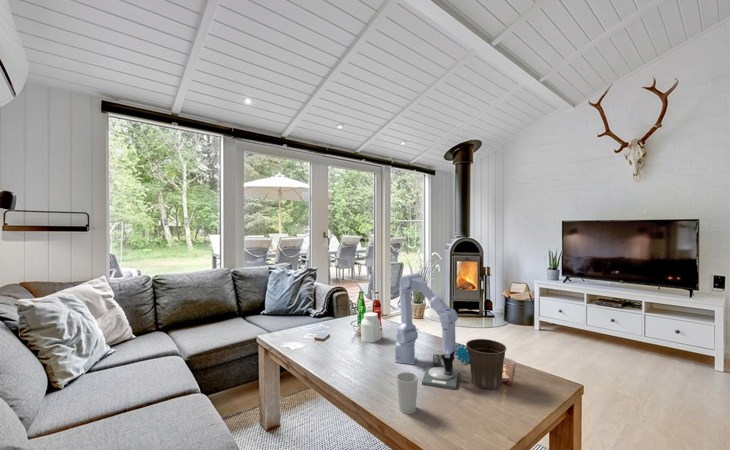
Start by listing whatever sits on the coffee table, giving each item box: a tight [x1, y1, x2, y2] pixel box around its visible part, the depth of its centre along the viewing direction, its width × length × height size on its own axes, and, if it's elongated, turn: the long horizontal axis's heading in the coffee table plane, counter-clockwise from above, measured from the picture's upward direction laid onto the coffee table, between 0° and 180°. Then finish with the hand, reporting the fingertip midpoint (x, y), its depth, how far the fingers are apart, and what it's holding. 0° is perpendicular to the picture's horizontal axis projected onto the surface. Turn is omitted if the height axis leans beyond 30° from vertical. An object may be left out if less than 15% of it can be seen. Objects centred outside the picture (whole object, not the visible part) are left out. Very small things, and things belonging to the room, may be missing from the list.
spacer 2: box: [443, 362, 454, 376], centre depth 148 cm, size 4×4×5 cm
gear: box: [454, 343, 470, 365], centre depth 167 cm, size 11×6×10 cm
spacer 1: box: [432, 353, 443, 367], centre depth 160 cm, size 4×4×5 cm
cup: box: [396, 371, 419, 415], centre depth 124 cm, size 8×8×12 cm
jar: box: [360, 311, 382, 344], centre depth 197 cm, size 12×10×15 cm
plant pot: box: [465, 338, 507, 390], centre depth 143 cm, size 16×16×16 cm
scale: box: [421, 365, 459, 390], centre depth 147 cm, size 14×16×2 cm
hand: (449, 367), depth 148 cm, fingers open, 7 cm apart
